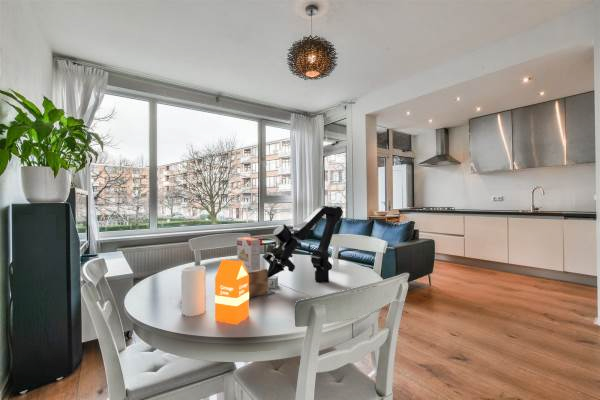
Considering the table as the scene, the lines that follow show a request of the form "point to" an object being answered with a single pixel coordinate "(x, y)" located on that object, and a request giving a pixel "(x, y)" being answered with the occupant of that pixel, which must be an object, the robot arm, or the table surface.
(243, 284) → the orange juice
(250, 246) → the cracker box
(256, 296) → the rail
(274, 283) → the letter cube
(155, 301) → the table surface
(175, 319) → the table surface
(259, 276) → the brown wooden block
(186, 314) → the cup
